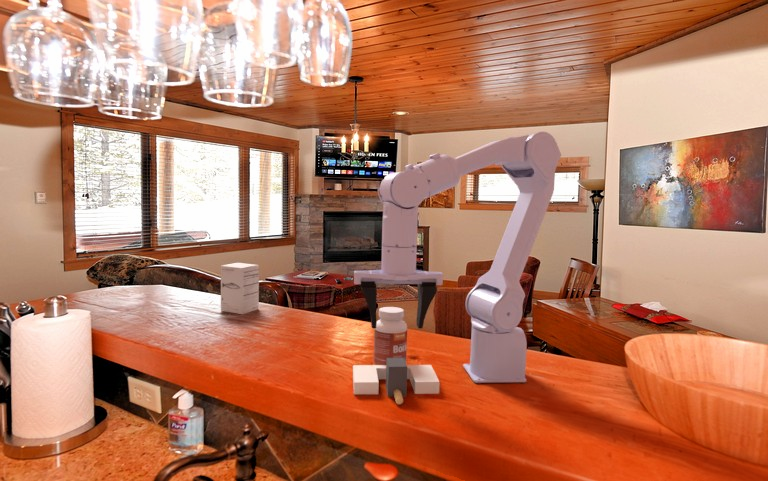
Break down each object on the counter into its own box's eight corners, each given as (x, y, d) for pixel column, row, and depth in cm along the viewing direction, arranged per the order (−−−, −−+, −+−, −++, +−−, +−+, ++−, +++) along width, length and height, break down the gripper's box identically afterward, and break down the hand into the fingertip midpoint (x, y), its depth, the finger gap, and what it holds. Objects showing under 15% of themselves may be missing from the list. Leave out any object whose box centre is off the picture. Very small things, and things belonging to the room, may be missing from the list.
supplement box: (219, 311, 122) (219, 265, 120) (238, 306, 128) (238, 261, 127) (241, 315, 119) (241, 267, 118) (259, 309, 126) (259, 264, 124)
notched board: (430, 375, 82) (430, 364, 81) (439, 393, 74) (439, 381, 74) (352, 376, 80) (353, 365, 80) (353, 394, 73) (353, 382, 73)
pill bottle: (396, 376, 81) (398, 315, 80) (367, 368, 84) (368, 310, 83) (411, 365, 86) (413, 308, 85) (383, 359, 89) (385, 304, 88)
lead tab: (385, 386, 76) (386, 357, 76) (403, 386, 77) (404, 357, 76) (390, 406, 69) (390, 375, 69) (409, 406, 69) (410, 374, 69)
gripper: (355, 247, 69) (353, 333, 71) (448, 249, 71) (444, 333, 72) (354, 242, 76) (352, 321, 78) (439, 244, 78) (436, 321, 79)
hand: (396, 326), depth 75 cm, fingers open, 7 cm apart
